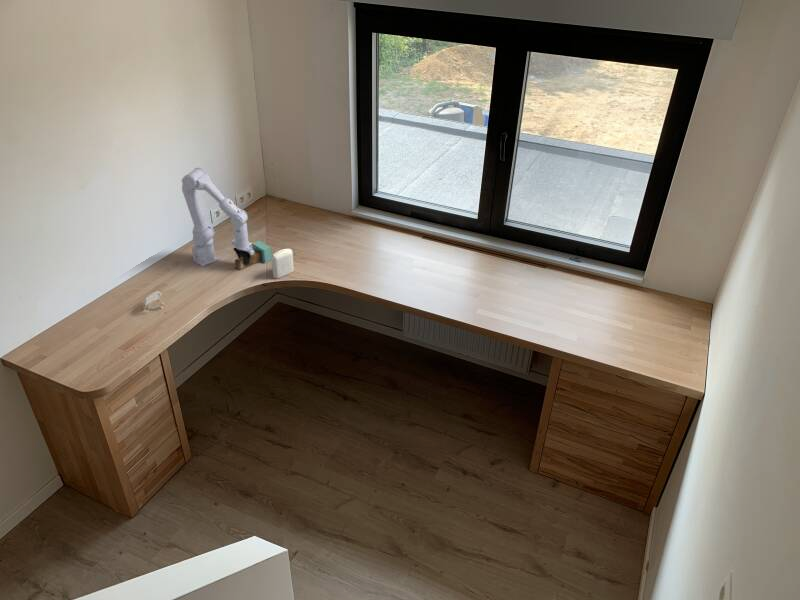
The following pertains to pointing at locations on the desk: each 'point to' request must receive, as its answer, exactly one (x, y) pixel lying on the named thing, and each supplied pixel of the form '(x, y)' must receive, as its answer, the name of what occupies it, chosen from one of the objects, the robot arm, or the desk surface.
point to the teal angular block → (263, 250)
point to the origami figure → (153, 299)
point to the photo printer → (282, 263)
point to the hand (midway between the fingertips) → (244, 262)
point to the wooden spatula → (253, 259)
